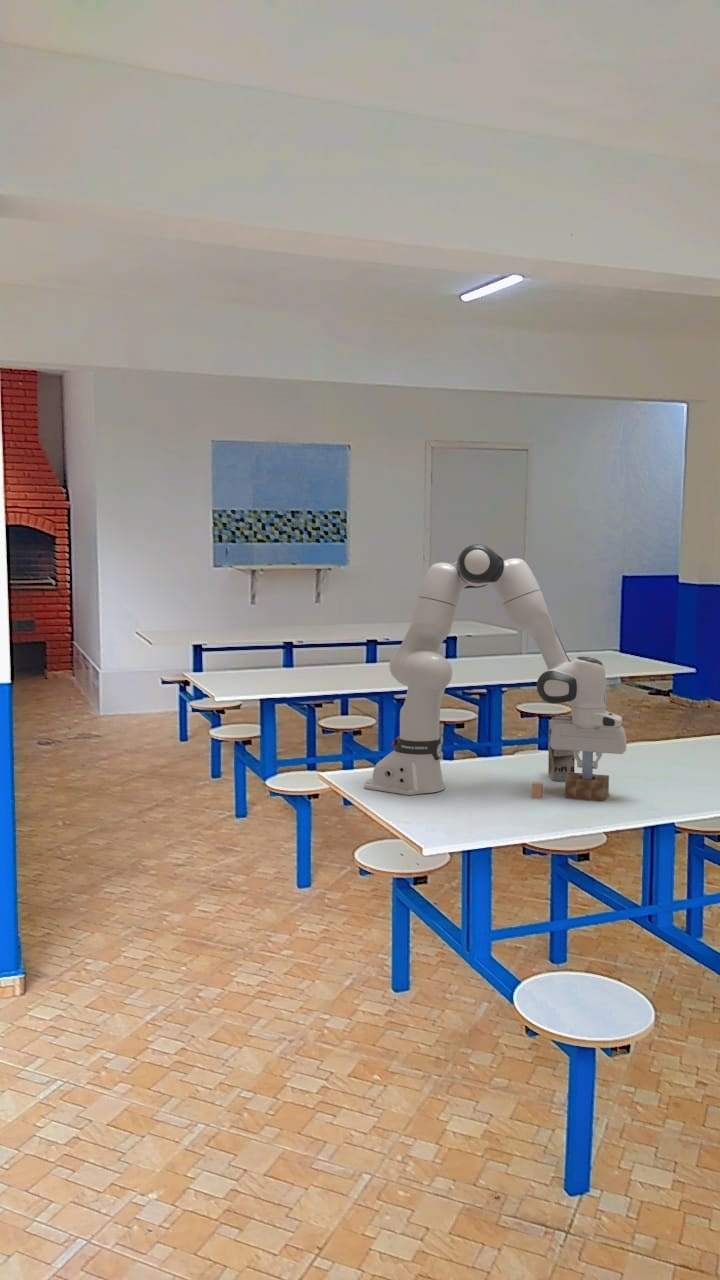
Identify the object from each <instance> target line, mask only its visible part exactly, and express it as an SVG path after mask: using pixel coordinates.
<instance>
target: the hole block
mask: <svg viewBox="0 0 720 1280" xmlns="http://www.w3.org/2000/svg"><path fill="white" fill-rule="evenodd" d="M564 782H565V783H564V798H565V799H570V800H571V799H572V800H580V801H581V800H582V801H593V802H601V803H603V802H604V800H605V799H606V798H607V796H608V795H609V791H610V788H609V787H610V786H609V785H610V784H609V783H610V775H608V774H596V773H595V774H593V779H592V780H590V779H582V772H574V773H571V774H570V775H569V776H568V777H567V778H566V780H565V781H564Z"/></svg>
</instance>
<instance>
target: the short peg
mask: <svg viewBox="0 0 720 1280" xmlns="http://www.w3.org/2000/svg"><path fill="white" fill-rule="evenodd" d="M531 785H532V786H531V787H532V789H531V798H532V799H538V800H541V799H542V798H544V782H543V781H541V782H540V781H533V782H532V783H531Z"/></svg>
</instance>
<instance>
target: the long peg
mask: <svg viewBox="0 0 720 1280" xmlns="http://www.w3.org/2000/svg"><path fill="white" fill-rule="evenodd" d="M581 760H582V768H581V770H582V771H581V773H582V779H590V780H592V779H593V772H594V771H593V768H591V766H592V765H591V762H592V761H594V752H584V751H582V759H581Z"/></svg>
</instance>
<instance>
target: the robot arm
mask: <svg viewBox="0 0 720 1280" xmlns="http://www.w3.org/2000/svg"><path fill="white" fill-rule="evenodd" d="M488 585H489V586H491V587H493V588H494V589H495V590H496V591H497V593H498V595H499V598H500V600H501V601H500V602H501V603H502V606H503V609H504V611H505V613H506V615H507V617H508V619H509V621H511V623H512V625H513V627H515V628H517V629H519V630H521V631H523V632H524V633H526V634H527V635H528V636H530V637H531V638H532V639H533V640H534V641H535V643H536V645H537V647H538V649H539V652H540V654H541V656H542V659H543V660H544V662H545V665H546V667H547V670H545V671H544V672H542V673H541V675H540V676H539V677H538V678H537V680H536V681H537V682H536V691H537V694H538V695H539V697H540V698H541V699H542V700H543V701H544V702H546V703H549V704H555V705H557V704H563V703H568V702H569V703H571V715H558V714H557V715H555V716H552V718H551V719H550V720H549V722H550V729H551V730H552V731H551V737H550V746H551V748H552V749H557V750H571V751H573V755H574V757H575V760H576V767H577V768H581V769H582V759H581V757H580V756H579V754H580V753H581V752H583V751H584V752H593V753H595V757H596V759H595V760H593V761H592V762H591V765H592V766H591V768H593V769H594V770H595V769H598V768H599V761H600V760H601V758H602V756H603V754H614V755H623V754H625V752H626V751H627V734H626V730H625V727H624V726H623V725H622V724H623V717H622V716H621V715H618V714H616V713H613V712H610V711H607V710H606V703H605V695H606V689H607V688H606V687H607V686H606V685H607V684H606V683H607V679H606V671H605V668H606V667H605V666H604V664H603V662H602V661H601V660H599V659H598V658H597V659H596V658H593V657H590V656H576V657H575V658H574V659H573V660H570V658H569V656H568V654H567V652H566V650H565V648H564V645H563V644H562V641H561V639H560V637H559V635H558V633H557V630H556V628H555V626H554V624H553V620H552V618H551V616H550V613H549V609H548V607H547V603H546V601H545V598H544V595H543V592H542V590H541V587H540V586H539V582H538V581H537V579H536V577H535V575H534V572H533V571H532V569H531V568H530V566H529V565H528V564H527V562H526V561H525V560H523V559H522V558H513V557H512V558H509V559H505V560H504V559H503V557H502V556H500V555H499V554H497V552H495V551H494V550H493V549H492V548H490V547H488V546H486V545H484V544H478V543H477V544H475V543H474V544H471V545H469V546H466V547H465V548H464V549H463V550H462V551H461V552H460V553H459V555H458V558H457V561H455V562H454V563H448V562H435V563H433V564H432V565H431V566H430V567H429V568H428V571H427V572H426V575H424V579H423V581H422V583H421V587H420V590H419V594H418V596H417V600H416V605H415V609H414V612H413V615H412V620H411V623H410V625H409V627H408V629H407V632H406V633H405V636H404V638H403V639H402V642H401V644H400V645H399V648H398V649H397V651H395V653H393V655H392V656H391V658H390V660H389V672H390V673H391V675H392V677H393V678H394V679H395V680H396V681H397V682H398V683H399V684H401V685H402V686H404V687H405V686H406V687H407V691H406V695H405V700H404V703H403V705H402V707H401V708H400V711H399V735H398V736H396V738H395V739H393V741H391V743H392V744H391V746H393V751H391V752H389V753H388V754H387V755H386V756H385V757H383V758H382V759H380V760H379V761H378V762H377V763H376V764H375V766H374V768H373V771H372V772H373V773H372V778H370V779H368V780H366V781H365V782H364V789H366V790H374V791H380V792H386V793H387V792H388V793H393V794H399V795H407V796H411V795H412V796H413V795H419V794H430V793H436V792H437V793H438V792H440V791H443V790H445V788H446V785H445V783H444V780H443V774H442V765H441V758H442V757H441V756H442V739H441V737H440V717H441V716H440V712H441V706H442V702H443V698H444V694H445V690H446V688H447V686H448V685H449V684H450V682H451V680H452V678H453V669H452V665H451V663H450V662H449V660H447V658H445V657H444V656H443V655H441V654H440V653H438V652H439V650H440V649H439V648H440V647H441V646H442V643H443V642H444V640H445V639H446V638H447V637H449V636H450V633H451V630H452V627H453V623H454V618H455V615H456V611H457V606H458V602H459V599H460V595H461V593H462V591H463V589H477V588H483V587H485V586H488Z"/></svg>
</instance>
